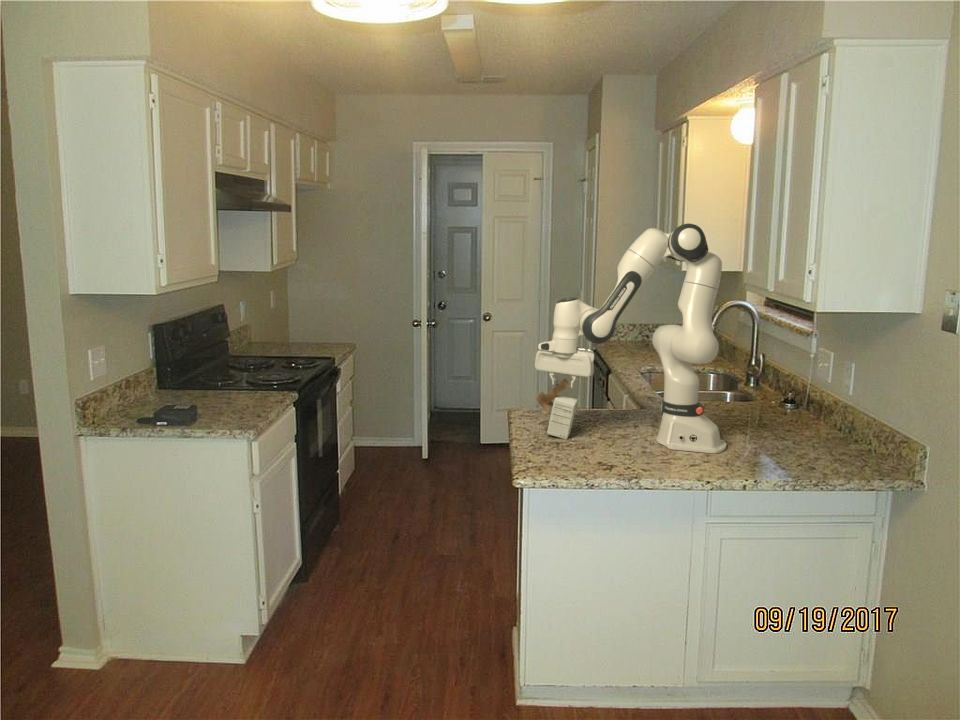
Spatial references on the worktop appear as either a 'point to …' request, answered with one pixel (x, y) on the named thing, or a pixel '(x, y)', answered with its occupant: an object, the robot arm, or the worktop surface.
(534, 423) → the worktop surface
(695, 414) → the robot arm
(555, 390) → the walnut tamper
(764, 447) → the worktop surface
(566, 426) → the supplement box
